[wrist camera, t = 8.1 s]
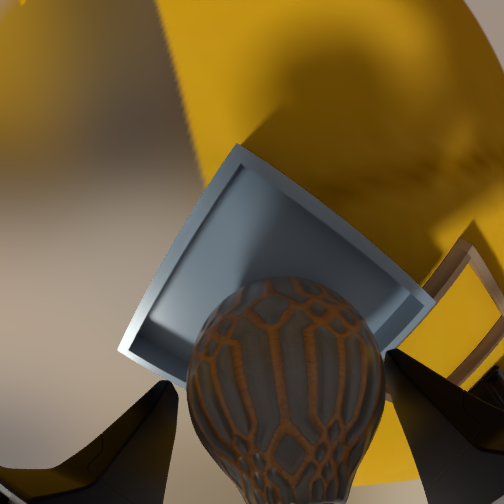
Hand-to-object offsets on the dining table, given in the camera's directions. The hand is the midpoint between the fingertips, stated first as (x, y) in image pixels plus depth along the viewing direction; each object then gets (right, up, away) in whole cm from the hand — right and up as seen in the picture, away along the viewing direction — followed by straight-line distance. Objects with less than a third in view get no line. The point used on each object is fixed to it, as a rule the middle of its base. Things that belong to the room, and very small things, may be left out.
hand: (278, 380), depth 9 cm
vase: (0, +1, +4) cm, 4 cm away
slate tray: (0, +2, +4) cm, 5 cm away
